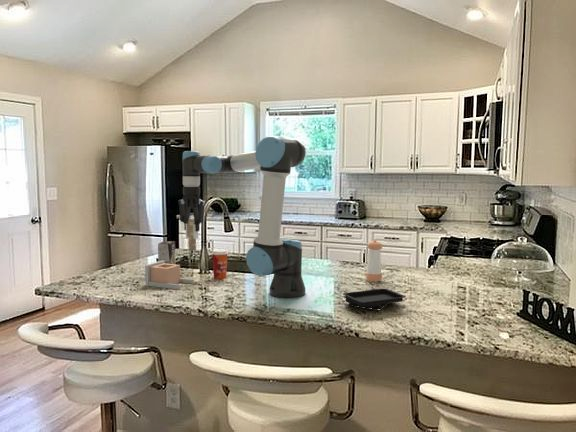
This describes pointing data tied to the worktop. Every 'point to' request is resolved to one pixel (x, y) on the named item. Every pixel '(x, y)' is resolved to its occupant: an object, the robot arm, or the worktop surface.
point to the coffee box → (166, 252)
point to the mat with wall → (158, 284)
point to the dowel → (191, 236)
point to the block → (166, 273)
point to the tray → (373, 298)
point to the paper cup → (219, 263)
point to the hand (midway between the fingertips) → (191, 238)
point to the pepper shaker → (374, 262)
